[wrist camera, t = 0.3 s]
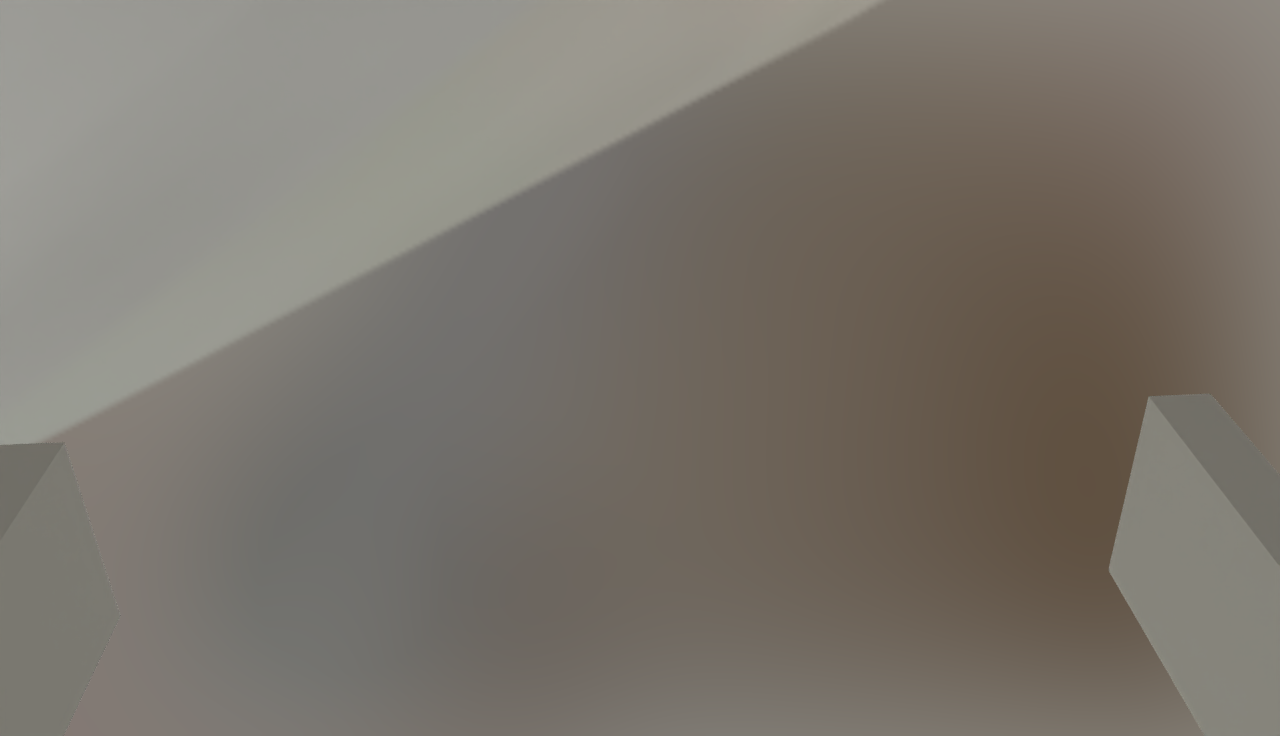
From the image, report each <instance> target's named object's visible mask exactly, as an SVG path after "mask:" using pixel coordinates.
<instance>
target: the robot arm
mask: <svg viewBox="0 0 1280 736" xmlns="http://www.w3.org/2000/svg"><path fill="white" fill-rule="evenodd" d="M1109 572H1110V574H1111V575H1112V577H1113V579H1114V581H1115V582H1116V584H1117V586H1118V587H1119V589H1120V591H1121V593H1122V594H1123V596H1124V598H1125V599H1126V601H1127V603H1128V605H1129V606H1130V608H1131V610H1132V612H1133V613H1134V615H1135V617H1136V618H1137V620H1138V622H1139V623H1140V625H1141V627H1142V629H1143V631H1144V632H1145V634H1146V636H1147V637H1148V639H1149V641H1150V643H1151V644H1152V646H1153V648H1154V649H1155V651H1156V653H1157V655H1158V656H1159V658H1160V660H1161V662H1162V663H1163V665H1164V667H1165V668H1166V670H1167V672H1168V674H1169V675H1170V677H1171V679H1172V680H1173V682H1174V684H1175V686H1176V688H1177V689H1178V691H1179V693H1180V694H1181V696H1182V698H1183V700H1184V701H1185V703H1186V705H1187V706H1188V708H1189V710H1190V712H1191V713H1192V715H1193V717H1194V718H1195V720H1196V722H1197V724H1198V725H1199V727H1200V729H1201V731H1202V732H1203V734H1204V736H1280V475H1279V473H1277V471H1276V470H1275V469H1274V468H1273V466H1272V465H1271V464H1270V463H1269V462H1268V460H1267V459H1266V458H1265V457H1264V456H1263V455H1262V453H1261V452H1260V451H1259V450H1258V449H1257V448H1256V447H1255V445H1254V444H1253V443H1252V442H1251V441H1250V439H1249V438H1248V437H1247V436H1246V435H1245V434H1244V432H1243V431H1242V430H1241V429H1240V428H1239V427H1238V425H1237V424H1236V423H1235V422H1234V421H1233V420H1232V418H1231V417H1230V416H1229V415H1228V414H1227V413H1226V411H1225V410H1224V409H1223V408H1222V407H1221V406H1220V404H1219V403H1218V402H1217V401H1216V400H1215V399H1214V398H1213V396H1212V395H1211V394H1194V395H1173V396H1171V395H1170V396H1149V398H1148V402H1147V406H1146V411H1145V415H1144V420H1143V424H1142V428H1141V433H1140V437H1139V441H1138V445H1137V450H1136V454H1135V458H1134V462H1133V467H1132V471H1131V475H1130V480H1129V484H1128V488H1127V493H1126V497H1125V501H1124V506H1123V510H1122V514H1121V518H1120V523H1119V527H1118V531H1117V536H1116V540H1115V544H1114V549H1113V553H1112V557H1111V562H1110V567H1109ZM119 618H120V613H119V609H118V606H117V603H116V600H115V597H114V594H113V591H112V588H111V585H110V582H109V579H108V575H107V573H106V569H105V567H104V563H103V560H102V557H101V554H100V551H99V548H98V545H97V541H96V538H95V535H94V532H93V529H92V526H91V523H90V520H89V517H88V514H87V511H86V507H85V505H84V501H83V498H82V495H81V492H80V489H79V486H78V483H77V480H76V477H75V474H74V471H73V467H72V464H71V461H70V458H69V455H68V452H67V449H66V446H65V443H64V442H62V443H37V444H14V445H0V736H64V734H65V732H66V729H67V728H68V726H69V724H70V721H71V719H72V717H73V715H74V713H75V711H76V709H77V707H78V705H79V702H80V700H81V698H82V696H83V694H84V692H85V690H86V688H87V686H88V684H89V681H90V679H91V677H92V675H93V673H94V671H95V669H96V667H97V665H98V662H99V660H100V658H101V656H102V654H103V652H104V650H105V648H106V645H107V643H108V641H109V639H110V637H111V635H112V633H113V631H114V629H115V627H116V625H117V622H118V620H119Z"/></svg>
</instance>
